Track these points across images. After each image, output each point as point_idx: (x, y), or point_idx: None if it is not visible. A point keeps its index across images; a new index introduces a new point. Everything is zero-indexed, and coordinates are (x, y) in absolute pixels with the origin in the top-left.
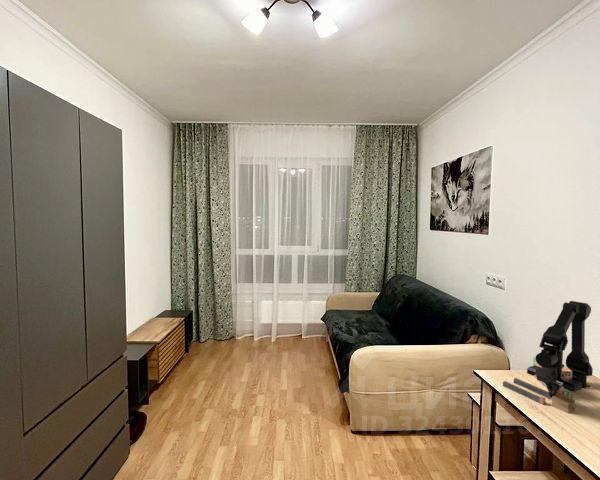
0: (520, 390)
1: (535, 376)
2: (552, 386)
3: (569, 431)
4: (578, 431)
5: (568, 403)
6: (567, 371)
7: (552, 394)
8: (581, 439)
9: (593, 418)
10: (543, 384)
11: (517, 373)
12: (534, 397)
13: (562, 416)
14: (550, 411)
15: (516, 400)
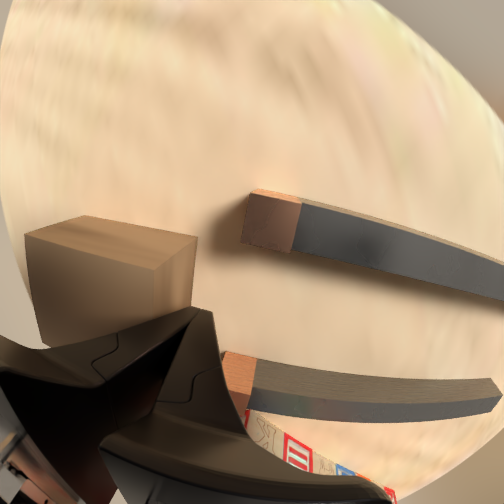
0: (485, 257)
1: (386, 490)
2: (65, 375)
3: (52, 18)
4: (26, 59)
5: (25, 236)
6: None
7: (167, 320)
8: (25, 22)
9: (22, 274)
10: (346, 472)
11: (454, 459)
12: (360, 216)
13: (89, 125)
14: (165, 115)
15: (444, 90)
